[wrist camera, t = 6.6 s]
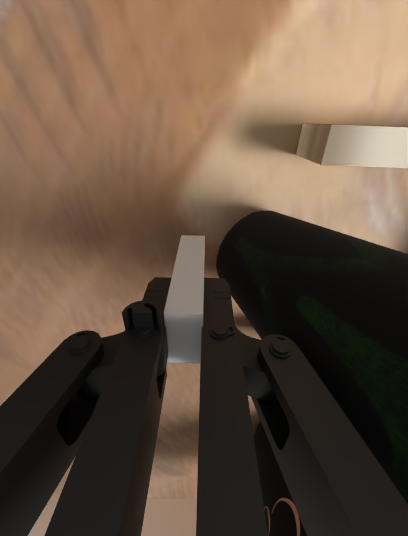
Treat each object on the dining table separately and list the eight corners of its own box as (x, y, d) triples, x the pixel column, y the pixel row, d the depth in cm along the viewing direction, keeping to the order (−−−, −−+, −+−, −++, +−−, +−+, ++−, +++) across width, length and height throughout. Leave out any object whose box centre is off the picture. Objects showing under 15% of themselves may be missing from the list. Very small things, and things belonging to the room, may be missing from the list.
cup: (300, 275, 18) (528, 435, 9) (212, 319, 17) (386, 574, 7) (306, 173, 14) (779, 287, 5) (186, 219, 12) (563, 562, 3)
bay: (258, 328, 20) (271, 379, 16) (302, 123, 13) (346, 124, 9) (419, 334, 21) (470, 386, 17) (563, 133, 13) (726, 140, 9)
